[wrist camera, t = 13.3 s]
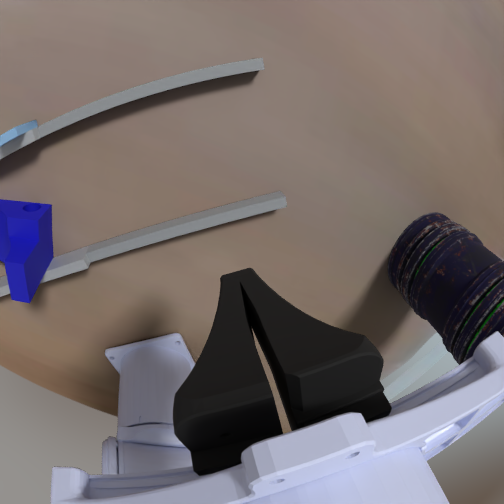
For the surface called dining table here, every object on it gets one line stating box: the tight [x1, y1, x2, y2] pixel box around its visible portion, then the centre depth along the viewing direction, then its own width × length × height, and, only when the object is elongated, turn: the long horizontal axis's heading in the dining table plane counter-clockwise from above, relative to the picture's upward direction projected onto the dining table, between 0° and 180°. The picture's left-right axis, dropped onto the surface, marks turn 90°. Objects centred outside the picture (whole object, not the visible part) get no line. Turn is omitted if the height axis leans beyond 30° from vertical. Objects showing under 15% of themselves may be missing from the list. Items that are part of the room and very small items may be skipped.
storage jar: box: [388, 212, 504, 365], centre depth 24 cm, size 10×10×15 cm
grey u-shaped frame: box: [0, 58, 287, 297], centre depth 18 cm, size 11×30×2 cm, turn 100°
